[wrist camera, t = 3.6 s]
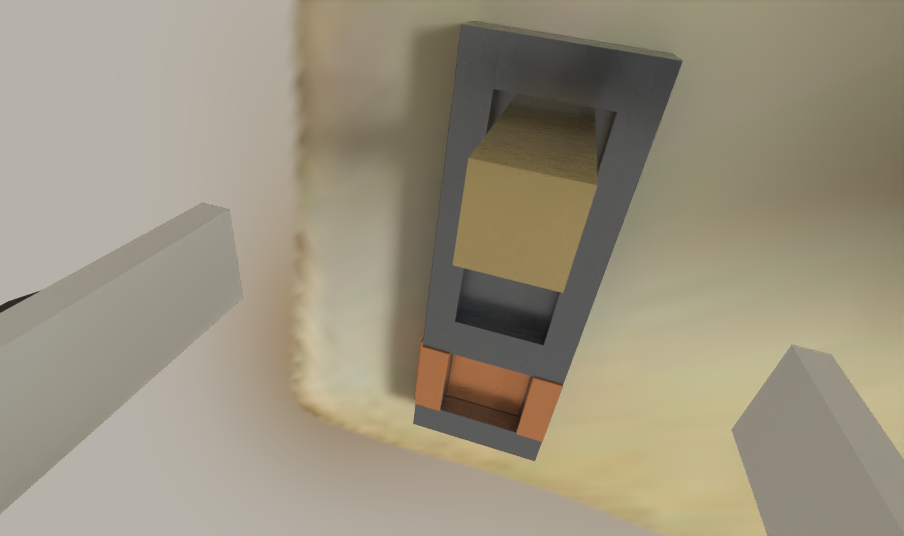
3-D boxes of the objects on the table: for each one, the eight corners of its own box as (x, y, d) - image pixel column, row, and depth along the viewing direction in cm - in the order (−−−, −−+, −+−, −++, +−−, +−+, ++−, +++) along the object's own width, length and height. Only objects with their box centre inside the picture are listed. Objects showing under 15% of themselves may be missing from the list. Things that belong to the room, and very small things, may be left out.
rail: (469, 20, 21) (456, 23, 19) (673, 53, 20) (683, 61, 18) (421, 397, 35) (410, 424, 33) (538, 432, 34) (534, 462, 32)
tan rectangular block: (511, 101, 22) (468, 158, 14) (595, 117, 21) (597, 185, 14) (496, 180, 24) (452, 265, 16) (572, 196, 23) (563, 292, 16)
